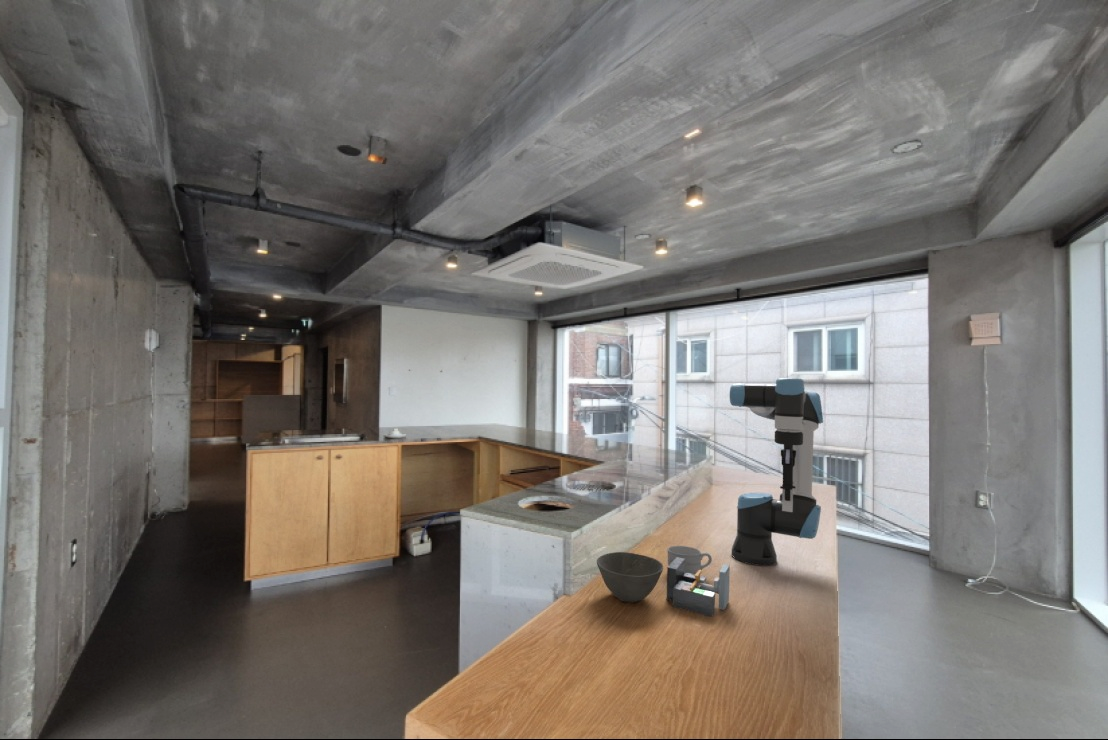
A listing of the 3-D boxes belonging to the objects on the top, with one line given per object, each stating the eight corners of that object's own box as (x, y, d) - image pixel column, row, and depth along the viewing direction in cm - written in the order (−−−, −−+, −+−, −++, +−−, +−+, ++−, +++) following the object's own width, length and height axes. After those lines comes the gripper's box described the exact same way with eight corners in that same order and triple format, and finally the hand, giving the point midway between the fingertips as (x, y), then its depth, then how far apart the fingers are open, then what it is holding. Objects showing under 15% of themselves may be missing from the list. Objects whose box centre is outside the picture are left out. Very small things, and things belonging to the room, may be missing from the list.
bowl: (674, 598, 134) (675, 563, 135) (638, 621, 120) (639, 581, 121) (620, 579, 147) (621, 546, 147) (582, 596, 133) (583, 561, 134)
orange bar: (698, 577, 137) (698, 569, 137) (701, 578, 137) (701, 570, 137) (689, 590, 127) (689, 582, 128) (692, 591, 127) (692, 582, 127)
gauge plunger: (700, 593, 137) (701, 558, 138) (728, 600, 133) (729, 564, 134) (694, 602, 131) (695, 566, 132) (724, 609, 127) (725, 572, 128)
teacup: (664, 576, 150) (665, 551, 150) (669, 565, 160) (670, 541, 160) (710, 585, 145) (710, 559, 145) (712, 573, 155) (712, 548, 155)
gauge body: (676, 587, 142) (676, 557, 143) (721, 598, 136) (722, 566, 136) (662, 603, 131) (663, 571, 131) (711, 616, 124) (712, 582, 124)
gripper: (802, 433, 130) (801, 518, 130) (803, 429, 142) (802, 507, 141) (773, 431, 134) (771, 514, 133) (776, 427, 145) (774, 504, 145)
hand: (787, 510), depth 137 cm, fingers closed
